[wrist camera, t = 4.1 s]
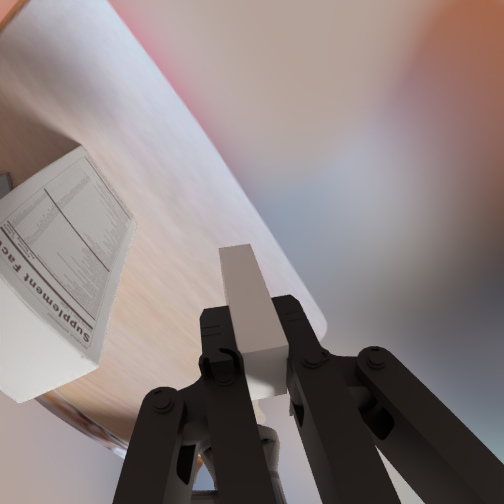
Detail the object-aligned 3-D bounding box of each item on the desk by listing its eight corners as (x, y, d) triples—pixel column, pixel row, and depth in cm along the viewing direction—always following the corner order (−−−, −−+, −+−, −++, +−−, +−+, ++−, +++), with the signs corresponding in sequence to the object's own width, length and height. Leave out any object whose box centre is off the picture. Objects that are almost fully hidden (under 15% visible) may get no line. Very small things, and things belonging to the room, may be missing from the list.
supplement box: (18, 200, 23) (-86, 307, 8) (82, 141, 22) (-42, 219, 8) (75, 271, 28) (19, 409, 13) (141, 225, 27) (102, 373, 12)
